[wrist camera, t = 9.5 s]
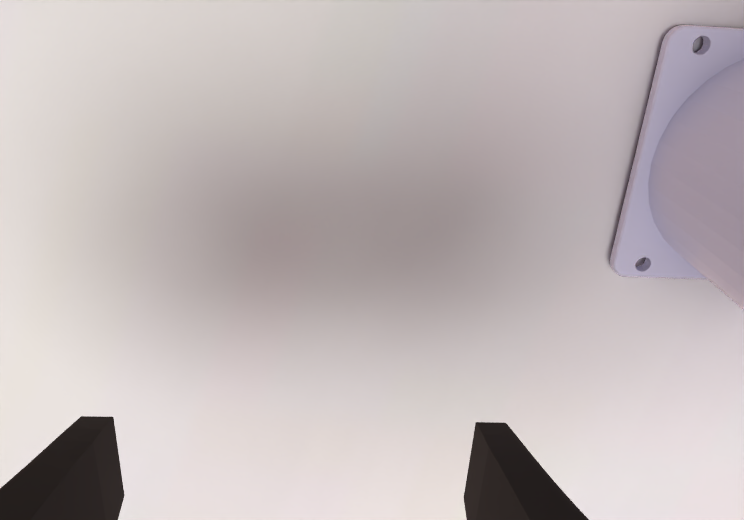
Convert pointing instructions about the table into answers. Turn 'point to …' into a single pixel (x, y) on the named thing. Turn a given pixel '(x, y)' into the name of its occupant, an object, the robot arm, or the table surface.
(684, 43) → the robot arm
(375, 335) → the table surface
